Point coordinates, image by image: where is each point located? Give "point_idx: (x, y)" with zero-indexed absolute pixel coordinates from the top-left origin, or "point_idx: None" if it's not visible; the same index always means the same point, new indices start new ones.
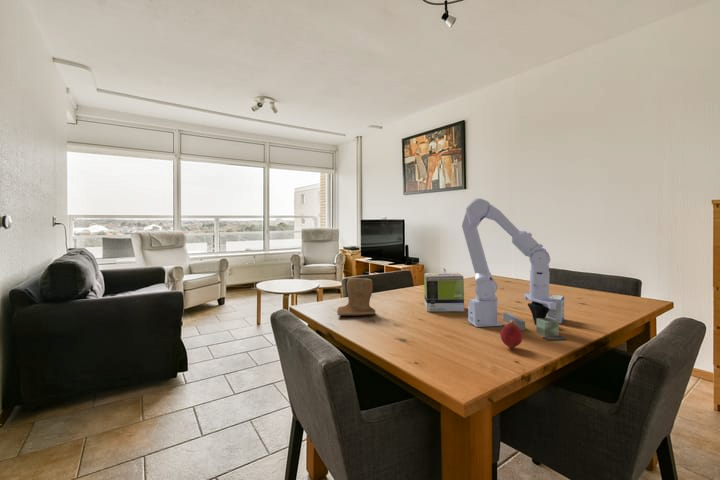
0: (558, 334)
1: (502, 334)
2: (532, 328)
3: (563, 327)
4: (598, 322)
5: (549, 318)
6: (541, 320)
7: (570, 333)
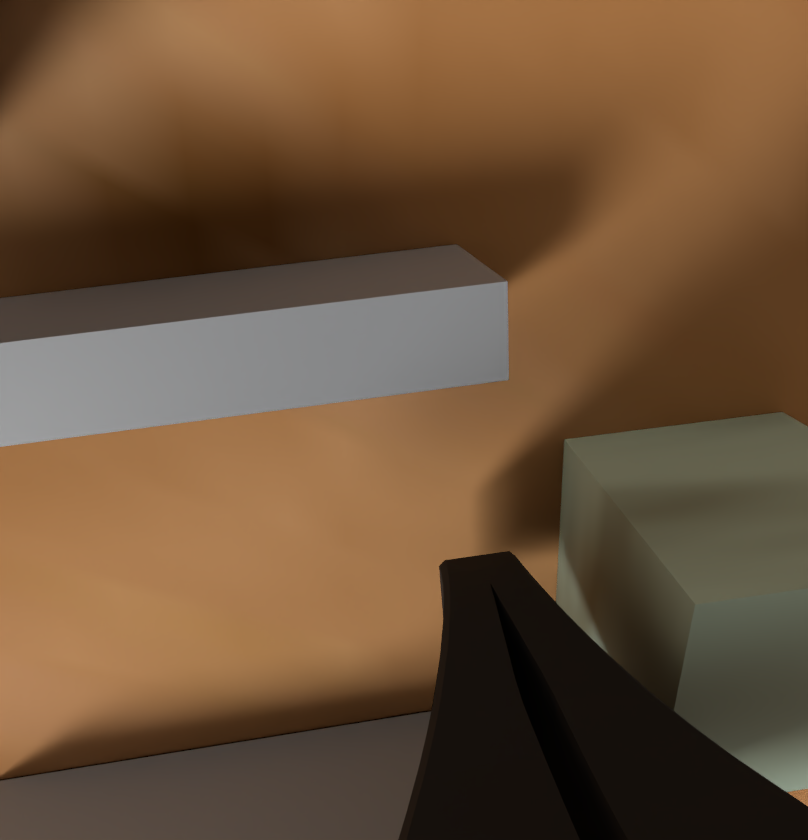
0: (796, 420)
1: None
2: (406, 606)
3: (355, 13)
4: None
5: (731, 623)
6: (797, 783)
7: (757, 132)
